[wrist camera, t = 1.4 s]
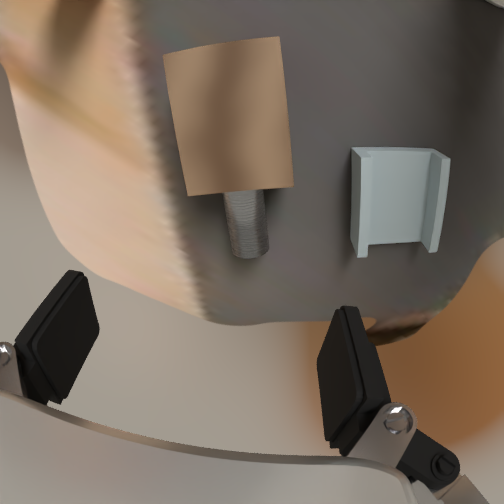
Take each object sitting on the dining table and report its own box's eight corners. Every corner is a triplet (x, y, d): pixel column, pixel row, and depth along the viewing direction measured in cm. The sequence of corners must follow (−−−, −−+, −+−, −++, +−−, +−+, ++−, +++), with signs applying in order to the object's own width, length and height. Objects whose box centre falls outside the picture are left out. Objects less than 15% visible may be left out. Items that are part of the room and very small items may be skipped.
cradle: (433, 148, 26) (450, 159, 23) (423, 234, 32) (436, 252, 28) (351, 147, 28) (361, 157, 24) (350, 238, 33) (357, 257, 30)
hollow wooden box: (278, 46, 23) (279, 36, 17) (289, 160, 29) (293, 186, 22) (190, 58, 24) (162, 54, 18) (207, 167, 30) (188, 196, 23)
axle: (213, 69, 24) (195, 70, 21) (253, 63, 22) (239, 62, 20) (238, 238, 32) (226, 257, 30) (273, 239, 31) (263, 259, 28)
